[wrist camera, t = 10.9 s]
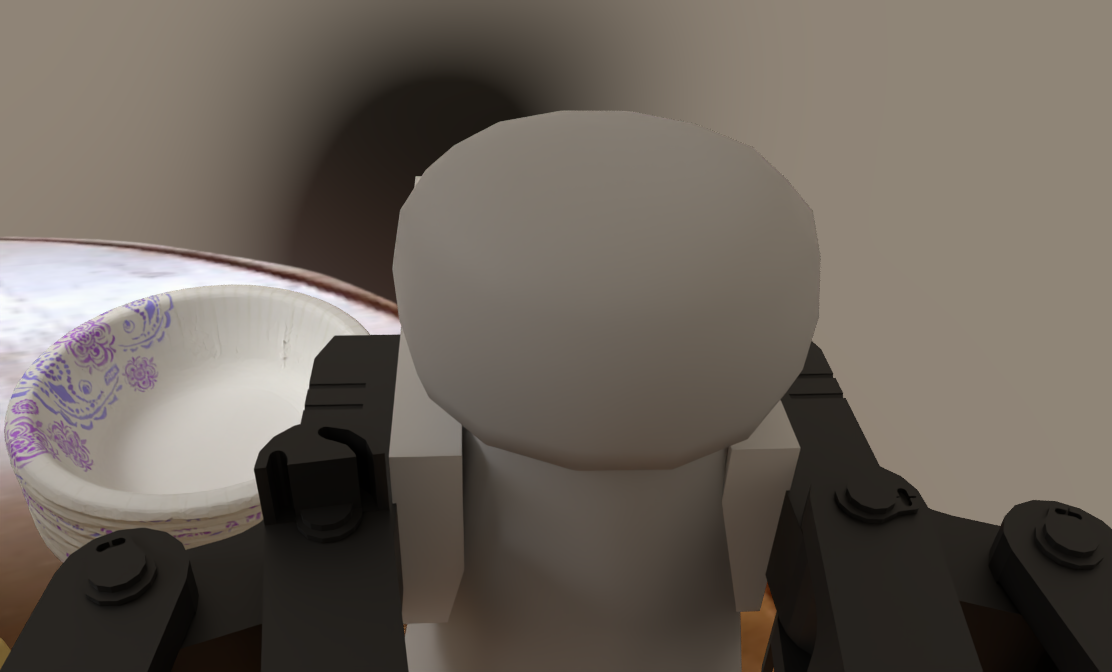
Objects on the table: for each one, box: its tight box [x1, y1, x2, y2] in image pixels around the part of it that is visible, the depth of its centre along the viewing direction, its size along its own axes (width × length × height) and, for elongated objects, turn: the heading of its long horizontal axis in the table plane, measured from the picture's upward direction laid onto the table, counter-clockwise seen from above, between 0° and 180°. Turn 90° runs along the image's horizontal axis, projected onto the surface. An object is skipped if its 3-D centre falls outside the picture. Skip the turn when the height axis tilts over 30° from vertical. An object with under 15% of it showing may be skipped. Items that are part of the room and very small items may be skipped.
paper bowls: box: [4, 285, 370, 563], centre depth 42 cm, size 15×15×8 cm
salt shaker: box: [392, 111, 820, 672], centre depth 13 cm, size 6×6×13 cm
